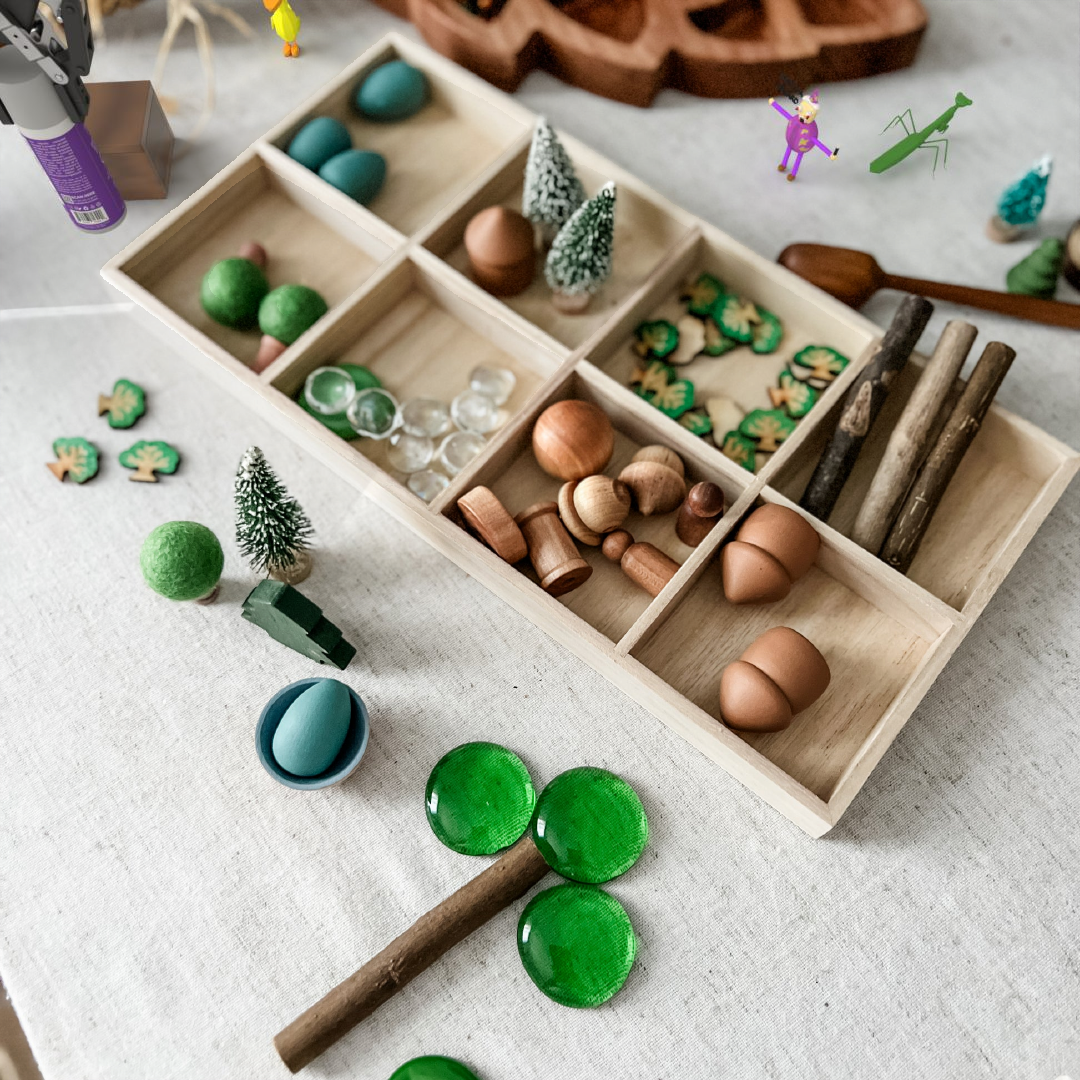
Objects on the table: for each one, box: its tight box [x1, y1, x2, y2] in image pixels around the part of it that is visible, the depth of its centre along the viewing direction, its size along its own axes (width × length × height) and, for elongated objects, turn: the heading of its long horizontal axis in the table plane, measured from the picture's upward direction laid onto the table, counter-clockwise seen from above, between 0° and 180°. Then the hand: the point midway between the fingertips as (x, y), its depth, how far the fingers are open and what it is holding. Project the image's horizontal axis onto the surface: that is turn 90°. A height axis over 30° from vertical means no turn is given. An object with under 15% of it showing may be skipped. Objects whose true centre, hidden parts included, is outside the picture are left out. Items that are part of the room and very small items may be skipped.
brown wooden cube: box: [83, 79, 175, 202], centre depth 108 cm, size 8×10×8 cm
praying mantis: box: [869, 91, 974, 179], centre depth 111 cm, size 9×15×4 cm, turn 127°
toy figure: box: [262, 0, 302, 58], centre depth 114 cm, size 7×4×12 cm, turn 176°
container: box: [0, 44, 128, 235], centre depth 75 cm, size 5×5×15 cm
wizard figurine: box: [768, 72, 841, 182], centre depth 106 cm, size 11×3×12 cm, turn 35°
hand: (45, 115), depth 72 cm, fingers closed on container, 4 cm apart
